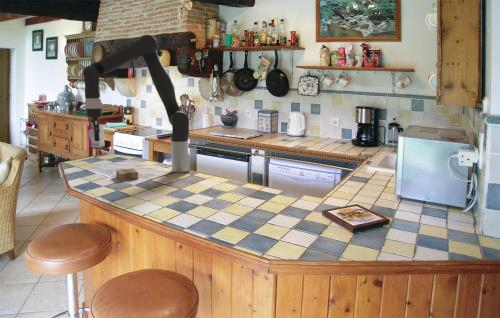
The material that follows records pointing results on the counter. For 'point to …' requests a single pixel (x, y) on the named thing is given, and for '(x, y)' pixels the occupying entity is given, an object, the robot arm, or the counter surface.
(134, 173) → the brown cardboard box
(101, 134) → the supplement box
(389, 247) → the counter surface
